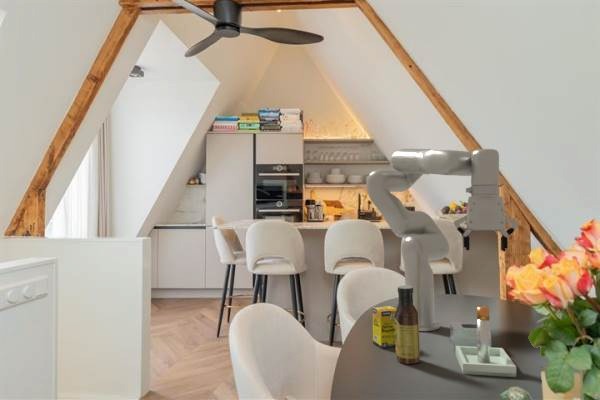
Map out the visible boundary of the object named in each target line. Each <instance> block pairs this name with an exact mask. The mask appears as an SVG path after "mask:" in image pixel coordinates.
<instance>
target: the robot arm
mask: <svg viewBox="0 0 600 400" xmlns="http://www.w3.org/2000/svg"><path fill="white" fill-rule="evenodd" d="M390 165H391V167H392V168H393V169H390V168H389V169H387V168H384V169H383V168H381V169H376V170H373V171H371V172H370V173H369V174H368V176H367V178H366V191H367V195H368V197H369V200H370V201H371V203H372V204H373V205H374V206H375V208H377V210H378V211H379V213H380V215H382V217H383V219H384V221H385V222H386V224H387V226H389V228H390V230H391V231H392V233H393V234H394V235H395V236H396V237H398V238H402V239H403V240H402V242H401V246H400V251H401V256H402V260H403V267H404V283H405V284H404V286H412V287H413V305H414V307H415V308H416V310H417V312H418V322H419V332H431V331H436V330H438V329H440V328H441V325H440V322H439V321H436V319H435V317H436V315H435V314H436V313H435V311H436V310H435V282H434V280H435V279H434V278H435V277H434V272H433V269H432V266H431V265H430V263H429V262H433V261H440V260H443V259H446V257H447V256H448V255H449V252H450V245H449V241H448V239H447V237H446V236H445V234H444V233H443V232H442V230H441V229H440V228H439V226H438V225H437V223H436V222H435V220H434V219H433V218H432V217H431V216H430V214H428V213H426V212H424V211H421V210H409V209H407V208H406V207H405V205H404V204H403V203H402V201H401V199H399V198H398V197H397V196H396V195H394V194H393V193H394V192H395V193H397V192H398V193H401V192H405V191H408V190H409V189H410V188H412V187H413V186H414V184H416V182H417V181H418V180H419V179H420V178H421V177H422V176H423V175H441V176H442V175H443V176H460V177H462V176H463V177H470V180H471V182H470V183H471V184H470V186H469V187H466V188H465V193H468V194H470V196H468V199H467V205H466V215H464V216H461V217H460V218H458V219H456V220H454V221H453V225H454V226H455V229H456V230H457V231H458V232H459V233H460V234H461V235H462V236H463V248H465V250H466V251H470V236H469V235H470V234H471V233H472V232H473V231H477V232H478V231H479V232H480V231H481V232H484V231H485V232H499V233H500V234H501V236H500V251H502V252H506V249H508V244H509V243H508V238H509V237H510V236H511V234H513V233H514V232H515V230H516V228H517V226H518V225H519V222H518V221H516V220H514V219H512V218H510V217H508V216H506V215H505V214H506V213H505V204H504V198H503V196H500V153H499V151H498V150H497V149H493V148H480V149H475V150H474V151H466V150H465V151H464V150H451V149H431V148H400V149H398V150H396V151H394V152H393V153H392V155H391V157H390ZM392 192H393V193H392ZM463 222H466V223H465V224H466V229H465V230H464V229H463V228H462V227H461V224H462V223H463ZM506 222H507V223H509V225H510V226H509V228H507V230H505V229H506Z"/></svg>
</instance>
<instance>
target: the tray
mask: <svg viewBox="0 0 600 400" xmlns="http://www.w3.org/2000/svg"><path fill="white" fill-rule="evenodd" d="M455 357H456V359H457V361H458V364H459V367H460V369H461V372H462V374H463V375H472V376H473V375H475V376H476V375H477V376H489V377H491V376H492V377H504V378H505V377H507V378H508V377H509V378H517V366H516V364H515V363H514V362H513V360H512V359H511V357H510V356H509V355H508V354H507V352H506V351H505V350H504V348H503V347H491V348H490V364H486V363H478V362H477V347H469V346H456V350H455Z"/></svg>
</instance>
